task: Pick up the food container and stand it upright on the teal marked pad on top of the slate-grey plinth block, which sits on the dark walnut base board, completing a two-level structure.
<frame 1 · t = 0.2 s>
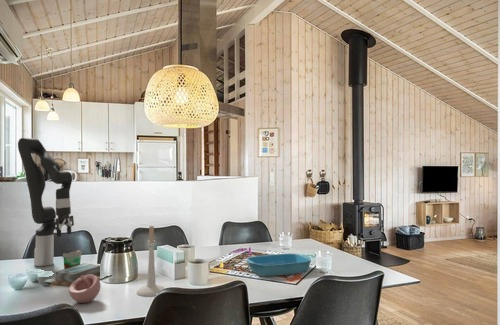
hand: (64, 235, 215), 18 cm above the table, tool pointing down, fingers open, 8 cm apart
casserole dish: (278, 271, 206), on the table
candlestick: (151, 292, 171), on the table
plinth: (79, 278, 192), on the table
mortar and pestle: (84, 302, 158), on the table
food container: (75, 269, 209), on the table
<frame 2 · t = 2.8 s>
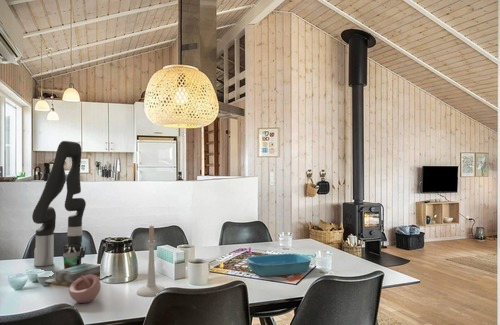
hand: (74, 264, 210), 2 cm above the table, tool pointing down, fingers closed on food container, 5 cm apart
food container: (75, 269, 209), on the table, touching gripper
everything else where it was.
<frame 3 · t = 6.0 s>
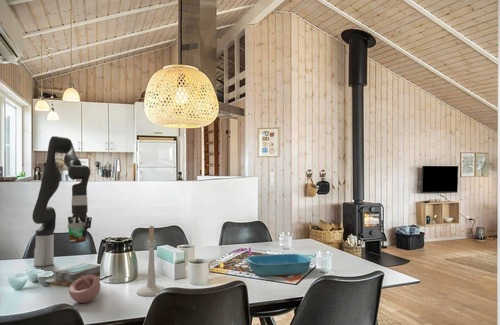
hand: (80, 236, 197), 20 cm above the table, tool pointing down, fingers closed on food container, 5 cm apart
food container: (80, 241, 196), point 18 cm above the table, touching gripper
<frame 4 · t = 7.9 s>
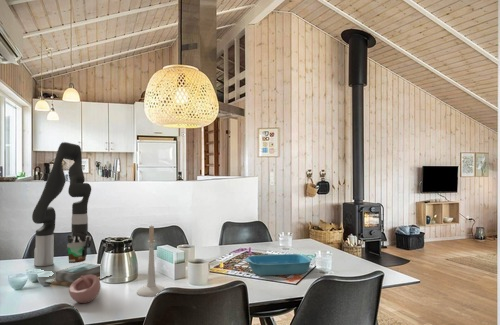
hand: (79, 256, 192), 11 cm above the table, tool pointing down, fingers closed on food container, 5 cm apart
food container: (80, 261, 192), point 9 cm above the table, touching gripper
when the fingers open (9 cm above the table, at t = 9.3 s): food container drops 1 cm, resting on plinth.
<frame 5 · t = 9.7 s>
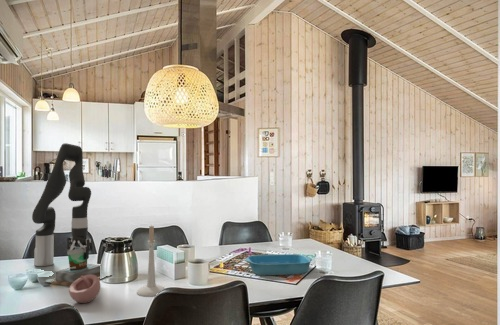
hand: (79, 258, 192), 10 cm above the table, tool pointing down, fingers open, 8 cm apart
food container: (81, 268, 191), point 5 cm above the table, touching gripper, plinth
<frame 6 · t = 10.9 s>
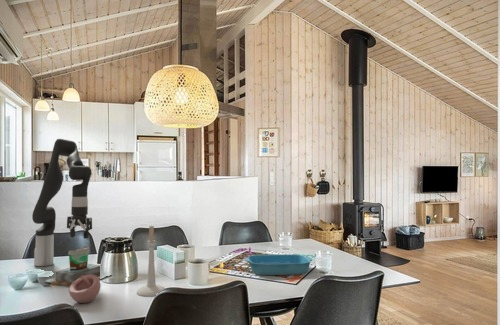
hand: (79, 237, 192), 21 cm above the table, tool pointing down, fingers open, 8 cm apart
food container: (81, 268, 191), point 5 cm above the table, touching plinth
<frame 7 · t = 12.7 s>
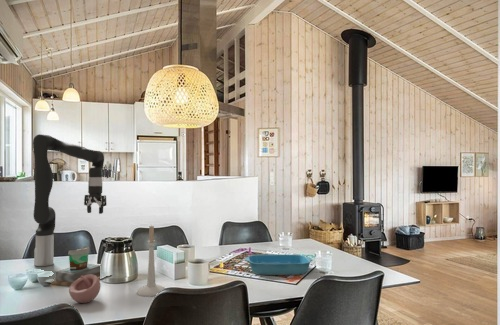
hand: (95, 213, 219), 30 cm above the table, tool pointing down, fingers open, 8 cm apart
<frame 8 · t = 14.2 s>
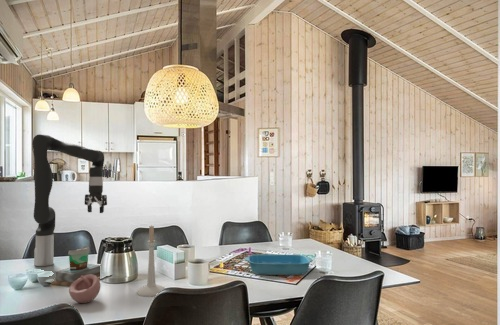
hand: (95, 212, 220), 30 cm above the table, tool pointing down, fingers open, 8 cm apart
at the end: food container inside the target area on the plinth (1.6 cm from its centre), point 5.2 cm above the plinth's base; food container tilted 0°; the gripper is holding nothing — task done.
